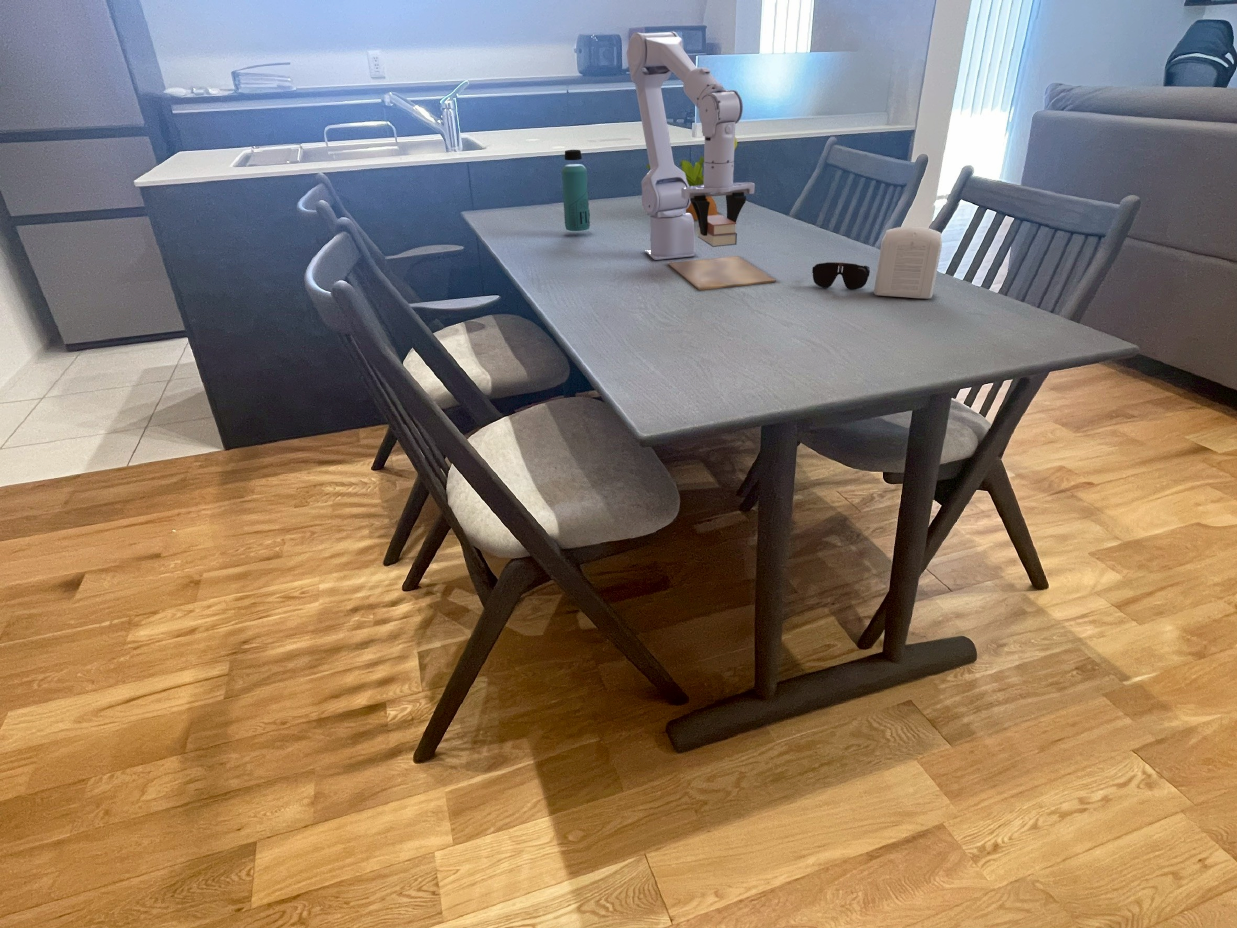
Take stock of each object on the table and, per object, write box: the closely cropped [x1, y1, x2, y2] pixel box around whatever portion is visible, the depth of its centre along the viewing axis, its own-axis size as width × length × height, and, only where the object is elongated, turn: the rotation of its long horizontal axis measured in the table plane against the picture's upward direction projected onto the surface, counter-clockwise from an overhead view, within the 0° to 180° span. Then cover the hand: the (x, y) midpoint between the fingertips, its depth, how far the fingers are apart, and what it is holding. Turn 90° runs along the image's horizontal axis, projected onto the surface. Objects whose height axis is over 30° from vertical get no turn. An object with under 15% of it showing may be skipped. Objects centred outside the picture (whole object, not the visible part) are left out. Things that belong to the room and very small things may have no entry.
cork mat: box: [668, 255, 777, 291], centre depth 153 cm, size 16×20×1 cm
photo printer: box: [873, 225, 943, 300], centre depth 133 cm, size 10×4×12 cm, turn 72°
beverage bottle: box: [560, 149, 591, 232], centre depth 183 cm, size 6×7×20 cm
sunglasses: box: [811, 261, 871, 291], centre depth 145 cm, size 10×12×5 cm
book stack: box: [697, 214, 738, 248], centre depth 149 cm, size 5×9×4 cm, turn 14°
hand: (716, 233), depth 149 cm, fingers closed on book stack, 5 cm apart
